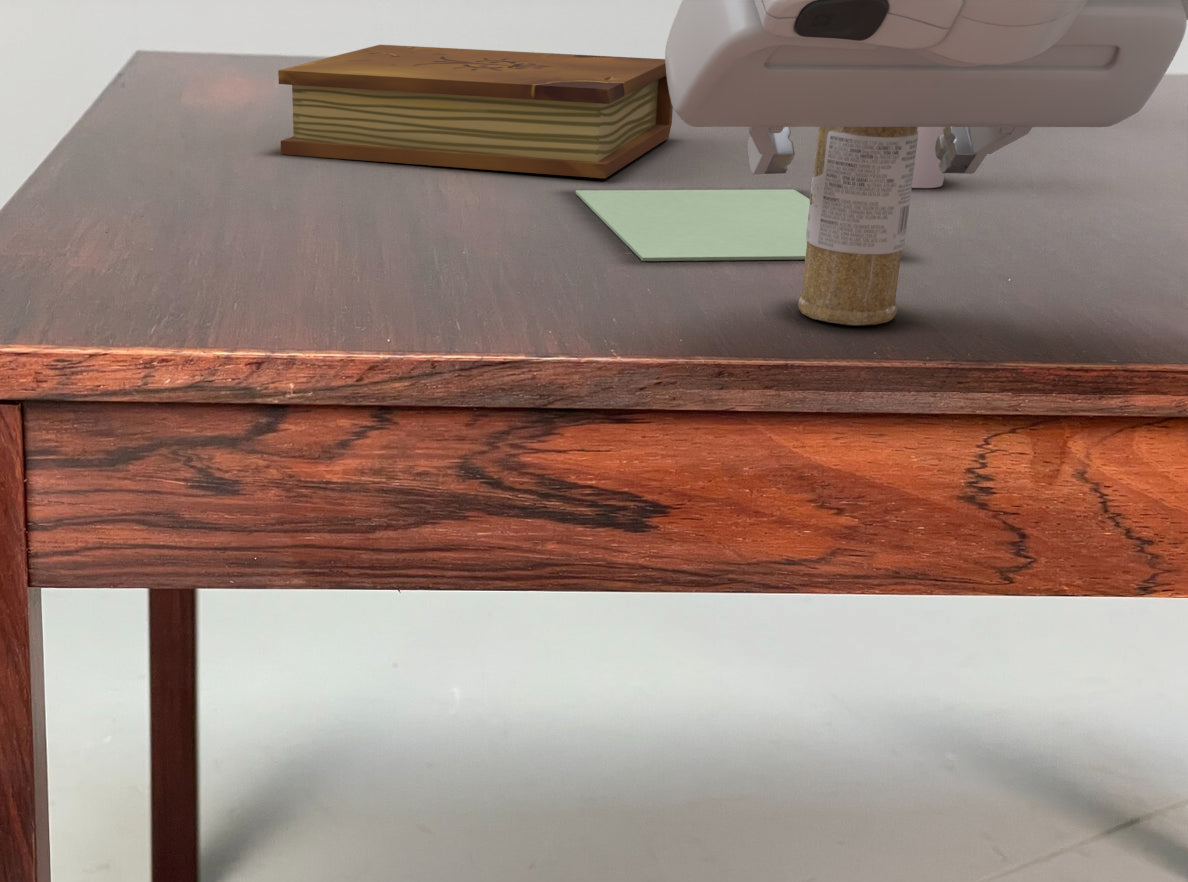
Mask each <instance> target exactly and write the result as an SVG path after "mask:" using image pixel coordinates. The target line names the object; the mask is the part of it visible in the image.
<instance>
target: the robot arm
mask: <svg viewBox="0 0 1188 882" xmlns="http://www.w3.org/2000/svg"><path fill="white" fill-rule="evenodd" d="M1187 25H1188V0H681V3H680V5H679V7H678V9H677V12H676V14H675V17H674V19H673V22H672V24H671V27H670V29H669V32H668V33H669V34H668V36H667V40H666V44H665V51H664V59H665V65H666V75H667V83H668V89H669V95H670V99H671V103H672V106H673V110H674V111H673V112H675V113H676V115H677V116H678V117H679V118H680V120H681V121H682V122H683V123H685V124H686V125H687V126H689V127H693V128H714V127H715V128H718V127H719V128H731V127H732V128H734V127H735V128H745V127H746V128H748V133H749V135H750V136H749V137H748V141H747V149H746V150H747V156H748V157H747V158H748V163H749V169H750V173H751V174H752V175H773V174H774V175H775V174H778V175H779V174H787V171H788V166H789V165H791V163H792V161H793V159H794V157H795V156H796V153H795V146H794V142H793V140H792V139H790V137H791V134H792V130H791V128H793V127H794V128H819V127H945V128H944V129H943V132H944V133H943V134H942V135H940V136H939V137H938V139H937V141H936V146H935V152H936V157H937V158H938V159H939V160H940V163H939V165H938V166H939V170H940V172H941V173H945V174H956V175H957V174H958V175H960V174H963V175H966V174H967V175H969V174H970V175H972V174H975V173H976V171H977V170H978V169H979V167H980V165H981V164H982V163H983V161H984V159H985V158H986V157H987V155H991V154H993V153H995V152H997V151H998V150H1000V149H1003V148H1004V147H1006V146H1009V145H1010V144H1012V143H1014V142H1015V141H1017V140H1020V139H1021V138H1023V137H1025V136H1027V135H1028V134H1029V133H1030V132H1031V131H1032V129H1033V128H1108V127H1109V128H1110V127H1112V126H1114V125H1117V124H1119V123H1121V122H1123V121H1125V120H1127V119H1129V118H1130V117H1133V116H1134V115H1136V114H1138V113H1139V112H1140V111H1141V110H1142V109H1143V108H1144V106H1145V105H1146V104H1147V102H1148V100H1150V98H1151V96H1152V95H1153V94H1154V92H1155V90H1156V89H1157V87H1158V86H1159V84H1160V83H1161V82H1162V80H1163V78H1164V76H1165V75H1166V73H1167V71H1168V69H1169V67H1170V66H1171V64H1172V62H1173V61H1174V58H1175V57H1176V54H1177V53H1178V50H1179V48H1180V46H1181V44H1182V42H1183V40H1184V37H1185V35H1186V31H1187Z"/></svg>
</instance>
